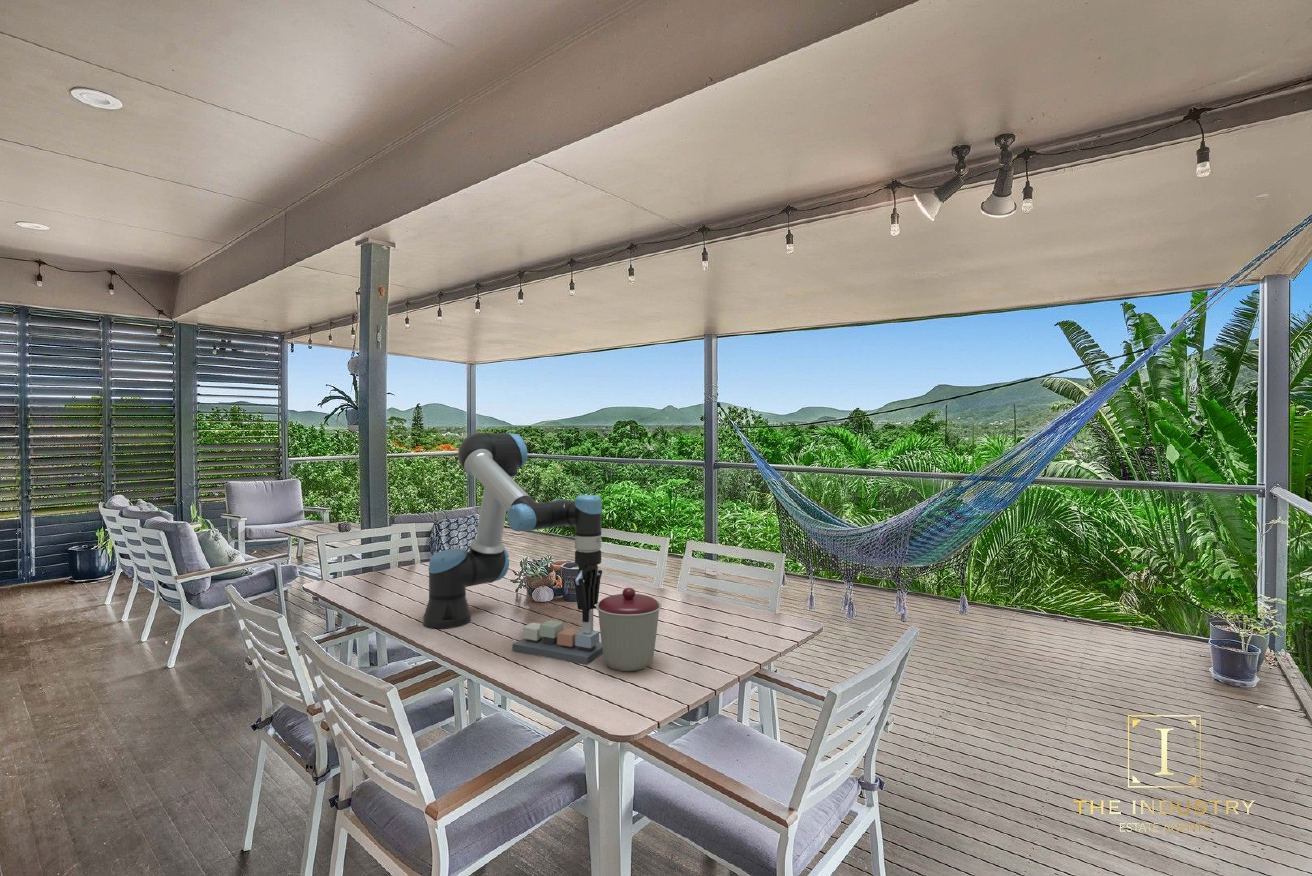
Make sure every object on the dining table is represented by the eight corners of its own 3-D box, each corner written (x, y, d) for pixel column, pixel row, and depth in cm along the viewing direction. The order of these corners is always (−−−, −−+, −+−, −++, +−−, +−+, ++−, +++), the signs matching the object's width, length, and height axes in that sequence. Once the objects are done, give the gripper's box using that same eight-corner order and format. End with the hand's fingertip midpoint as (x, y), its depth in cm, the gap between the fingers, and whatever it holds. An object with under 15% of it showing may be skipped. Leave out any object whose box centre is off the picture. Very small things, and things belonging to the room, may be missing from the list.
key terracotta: (557, 644, 171) (557, 633, 171) (566, 638, 176) (566, 628, 176) (572, 646, 169) (572, 635, 169) (581, 641, 174) (581, 630, 174)
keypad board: (512, 651, 173) (512, 636, 173) (536, 638, 184) (536, 624, 184) (587, 664, 164) (587, 649, 163) (607, 650, 175) (608, 636, 175)
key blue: (575, 645, 169) (575, 634, 169) (584, 640, 174) (584, 629, 174) (590, 648, 167) (590, 636, 167) (599, 642, 172) (599, 631, 172)
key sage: (539, 635, 174) (539, 625, 174) (549, 630, 178) (549, 620, 178) (554, 638, 172) (554, 627, 172) (563, 633, 176) (563, 622, 176)
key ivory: (522, 638, 176) (522, 627, 176) (532, 633, 181) (532, 622, 181) (536, 640, 174) (536, 629, 174) (546, 635, 179) (546, 624, 179)
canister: (626, 647, 177) (626, 576, 177) (674, 663, 165) (675, 587, 165) (581, 665, 163) (582, 588, 163) (630, 683, 151) (631, 601, 151)
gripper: (588, 555, 163) (587, 641, 163) (610, 546, 175) (610, 627, 175) (564, 552, 166) (564, 637, 166) (588, 544, 178) (587, 623, 178)
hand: (587, 632), depth 170 cm, fingers closed
